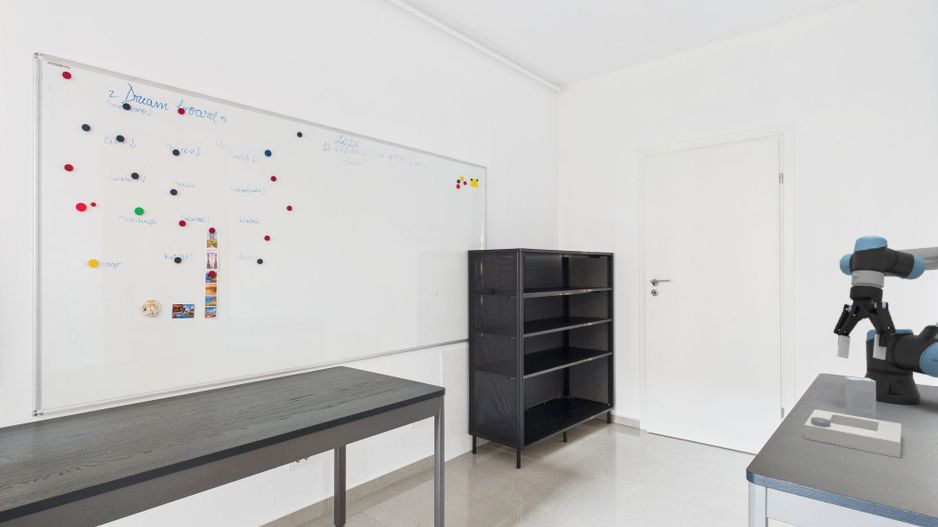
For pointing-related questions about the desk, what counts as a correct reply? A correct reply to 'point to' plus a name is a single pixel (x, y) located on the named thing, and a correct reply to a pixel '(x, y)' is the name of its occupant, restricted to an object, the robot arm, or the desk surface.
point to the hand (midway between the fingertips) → (859, 358)
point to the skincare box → (860, 397)
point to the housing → (854, 432)
